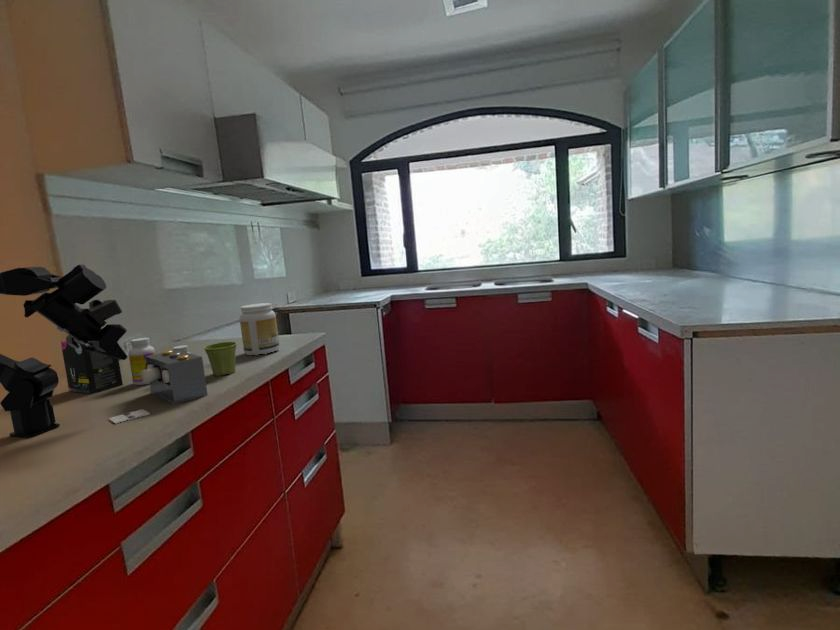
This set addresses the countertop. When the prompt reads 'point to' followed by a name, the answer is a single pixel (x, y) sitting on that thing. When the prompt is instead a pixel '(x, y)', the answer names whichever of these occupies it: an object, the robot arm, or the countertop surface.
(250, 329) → the supplement tub
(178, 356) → the console
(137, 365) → the supplement bottle
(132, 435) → the countertop surface
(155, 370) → the button
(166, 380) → the button
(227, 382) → the countertop surface
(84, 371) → the tampon box
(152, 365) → the button
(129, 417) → the card
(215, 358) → the plant pot
